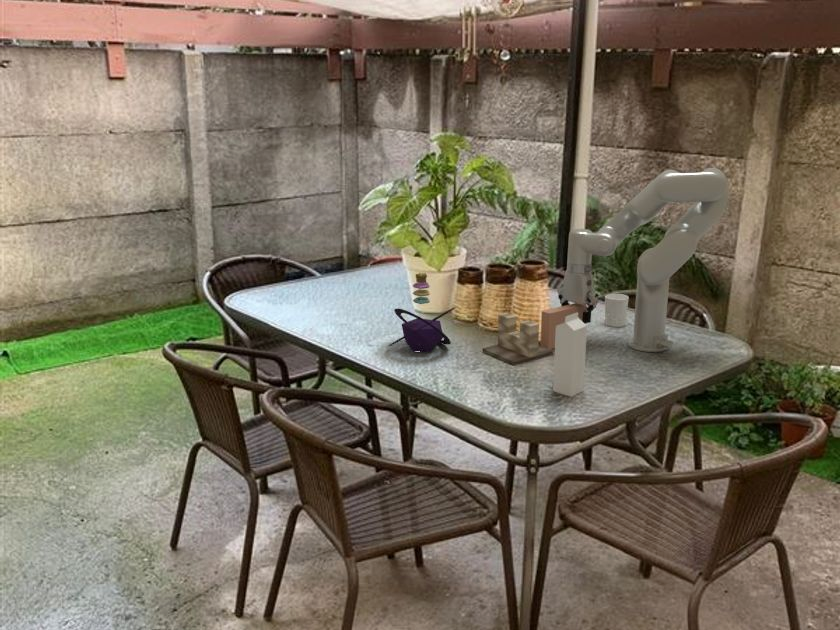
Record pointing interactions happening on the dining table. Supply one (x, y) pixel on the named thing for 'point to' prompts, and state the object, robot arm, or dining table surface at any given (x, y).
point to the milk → (570, 356)
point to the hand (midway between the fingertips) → (575, 319)
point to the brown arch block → (556, 322)
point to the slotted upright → (517, 341)
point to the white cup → (616, 309)
